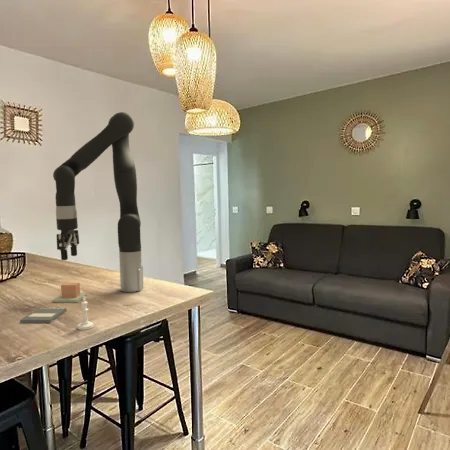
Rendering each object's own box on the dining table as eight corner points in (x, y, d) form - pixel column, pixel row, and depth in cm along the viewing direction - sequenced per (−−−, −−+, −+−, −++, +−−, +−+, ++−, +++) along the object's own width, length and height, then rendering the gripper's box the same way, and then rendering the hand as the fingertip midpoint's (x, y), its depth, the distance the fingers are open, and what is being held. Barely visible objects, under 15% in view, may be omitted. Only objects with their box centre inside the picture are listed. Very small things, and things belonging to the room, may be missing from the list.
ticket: (66, 310, 127) (66, 307, 127) (50, 322, 116) (50, 319, 115) (39, 310, 127) (39, 307, 127) (20, 322, 116) (20, 319, 116)
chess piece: (95, 323, 115) (94, 294, 114) (90, 329, 110) (89, 298, 109) (80, 324, 115) (79, 294, 113) (74, 330, 110) (73, 299, 109)
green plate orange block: (86, 295, 145) (86, 281, 144) (77, 302, 136) (77, 287, 136) (63, 295, 145) (62, 281, 145) (52, 302, 136) (51, 287, 136)
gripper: (68, 218, 131) (71, 261, 133) (83, 215, 145) (86, 254, 147) (48, 219, 131) (51, 261, 133) (65, 216, 145) (68, 254, 147)
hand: (69, 257), depth 140 cm, fingers open, 8 cm apart
